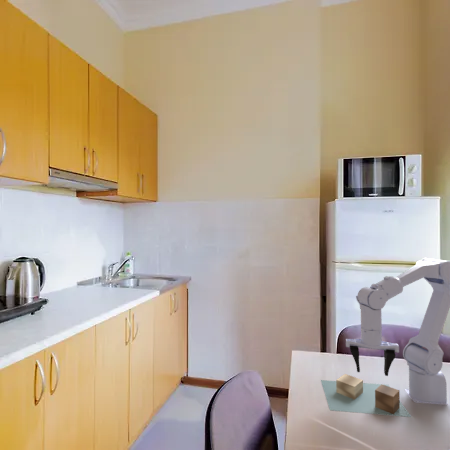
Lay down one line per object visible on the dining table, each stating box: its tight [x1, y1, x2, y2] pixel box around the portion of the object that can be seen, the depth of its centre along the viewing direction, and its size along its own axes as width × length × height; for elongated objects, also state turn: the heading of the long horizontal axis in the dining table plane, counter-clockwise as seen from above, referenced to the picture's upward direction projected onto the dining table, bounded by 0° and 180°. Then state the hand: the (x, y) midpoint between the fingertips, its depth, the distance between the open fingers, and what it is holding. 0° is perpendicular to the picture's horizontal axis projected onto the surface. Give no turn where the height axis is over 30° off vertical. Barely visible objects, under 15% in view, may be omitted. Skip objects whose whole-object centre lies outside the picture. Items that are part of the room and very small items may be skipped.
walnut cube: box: [375, 383, 401, 414], centre depth 91 cm, size 5×5×5 cm
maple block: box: [335, 373, 364, 400], centre depth 100 cm, size 6×6×4 cm
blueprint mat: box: [320, 379, 412, 418], centre depth 97 cm, size 22×18×1 cm
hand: (372, 372), depth 94 cm, fingers open, 7 cm apart
